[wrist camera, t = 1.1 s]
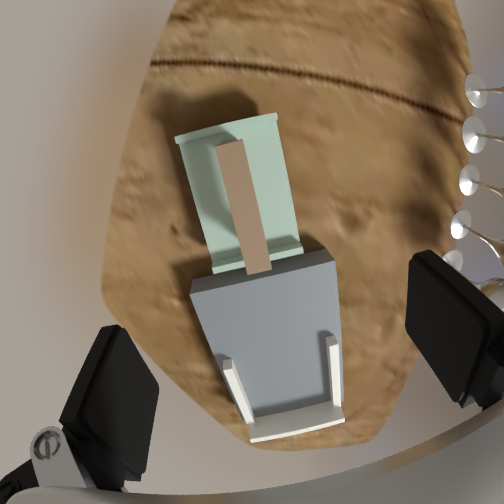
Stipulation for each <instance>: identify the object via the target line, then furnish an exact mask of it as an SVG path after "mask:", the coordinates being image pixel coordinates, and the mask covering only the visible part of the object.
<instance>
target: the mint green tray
mask: <svg viewBox="0 0 504 504" xmlns="http://www.w3.org/2000/svg"><path fill="white" fill-rule="evenodd" d="M276 120H278V117H277V113H271V114H266V115H261V116H256V117H251V118H246V119H242V120H237V121H233V122H228V123H224V124H220V125H216V126H212V127H208V128H204V129H201V130H197V131H193V132H190V133H186V134H183V135H179V136H176V137H174V138H175V142H176V144H179V146H180V150H181V154H182V158H183V161H184V165H185V169H186V172H187V176H188V180H189V183H190V187H191V191H192V194H193V198H194V201H195V205H196V208H197V212H198V215H199V219H200V222H201V226H202V229H203V232H204V236H205V239H206V242H207V246H208V249H209V252H210V256H211V259H212V270H213V274H216V273H220V272H224V271H229V270H233V269H238V268H242V267H246V271H247V275H250V274H255V273H259V272H263V271H268V270H272V266H271V262H270V261H272V260H276V259H281V258H285V257H289V256H293V255H298V254H302V253H304V252H303V246H302V245H301V243H300V240H299V234H298V229H297V223H296V218H295V212H294V207H293V201H292V196H291V191H290V186H289V181H288V175H287V170H286V166H285V161H284V156H283V151H282V146H281V142H280V137H279V132H278V128H277V123H276Z"/></svg>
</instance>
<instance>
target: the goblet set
mask: <svg viewBox="0 0 504 504" xmlns="http://www.w3.org/2000/svg"><path fill="white" fill-rule="evenodd" d="M464 86H465V92H466V95H467V98H468V99H469V101H470V102H471V104H472V105H473V106H475V107H478V108H481V107H483V106H484V105H485V104H486V101H487V92H495V93H501V94H504V87H501V88H492V89H486V86H485V83H484V81H483V80H482V79H481V77H479V76H478V75H477V74H475V73H470V74H468V75H467V76H466V78H465V83H464ZM462 137H463V141H464V144H465V146H466V148H467V149H468V150H469V151H470V152H472V153H479V152H480V151H482V149H483V148H484V146H485V143H486V138H488V139H492V140H496V141H500V142H503V143H504V137H501V136H500V137H499V136H491V135H486V130H485V126H484V124H483V122H482V121H481V120H480V119H479V118H478V117H477V116H473V115H472V116H469V117H467V118H466V120H465V121H464V124H463V127H462ZM478 185H481V186H484V187H486V188H488V189H491V190H493V191H494V192H496V193H498V194H499V195H500V196H502V197H503V198H504V188H498V187H493V186H490V185H487V184H484V183H481V182H479V172H478V170H477V168H476V167H475V166H474V165H472V164H467V165H466V166H464V167H463V169H462V170H461V172H460V176H459V186H460V189H461V191H462V193H463V194H465V195H472V194H473V193H474V192H475V191H476V190H477V188H478ZM470 226H471V215H470V213H469V212H468V211H467V210H464V209H462V210H460V211H458V212H457V213H456V214H455V215H454V217H453V219H452V221H451V227H450V229H451V234H452V236H453V237H454V238H456V239H461V238H463V237H464V236H465V235H466V234H467V233H468V231H471V232H473V233H474V234H476V235H477V236H479V237H480V238H482V239H483V240H484V241H486V242H487V243H488V244H489V245H490V246H491V247H492V249H493V250H494V252H495V253H496V255H497V257H498V259H499V261H500V262H501V264H502V265H503V267H504V239H501V240H499V239H492V238H489V237H487V236H484V235H482V234H480V233H479V232H477V231H475V230H473V229H471V228H470ZM442 259H443V260H444V261H446V262H447V263H448V264H449V265H451V266H452V267H453V268H454V269H455V270H457V271H458V272H459V273H460V274H461V275H463V274H462V273H461V272H460V270H461V268H462V264H463V256H462V253H461V252H460V251H459V250H456V249H454V250H451V251H449V252H447V253H446V254H445V255H444V256H443V257H442ZM463 276H464V277H465V278H466V279H467V280H469V281H470V282H471V283H472V284H473V285H474V286H475V287H477V288H478V289H479V290H480V291H481V292H482V293H483V294H485V295H486V296H487V297H488V298H489V299H490V300H491V301H492V302H493V303H494V304H496V305H497V306H498V307H499V308H500V309H501V310H502V311H503V312H504V278H501V277H493V278H489V279H487V280H485V281H483V282H475V281H472V280H471V279H469V278H467V277H466V276H465V275H463Z"/></svg>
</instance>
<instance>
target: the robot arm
mask: <svg viewBox="0 0 504 504" xmlns="http://www.w3.org/2000/svg"><path fill="white" fill-rule="evenodd" d="M405 328H406V331H407V333H408V335H409V336H410V338H411V339H412V341H413V342H414V343H415V345H416V346H417V348H418V349H419V351H420V352H421V354H422V355H423V356H424V358H425V359H426V361H427V362H428V364H429V365H430V367H431V368H432V370H433V371H434V373H435V374H436V376H437V377H438V379H439V380H440V382H441V383H442V385H443V386H444V388H445V390H446V391H447V393H448V394H449V396H450V397H451V399H452V400H453V401H454V402H458V403H459V405H460V406H461V408H464V407H466V406H468V405H470V404H471V403H473V402H475V401H476V402H477V404H478V406H479V408H478V414H477V415H475V416H474V417H472V418H470V419H468V420H467V421H465V422H463V423H461V424H459V425H458V426H455V427H454V428H452V429H450V430H448V431H446V432H444V433H442V434H440V435H438V436H436V437H434V438H432V439H429V440H428V441H425V442H423V443H421V444H419V445H416V446H414V447H412V448H409V449H407V450H404V451H402V452H400V453H397V454H395V455H392V456H389V457H387V458H384V459H382V460H378V461H376V462H373V463H370V464H367V465H364V466H361V467H358V468H354V469H351V470H348V471H344V472H341V473H337V474H334V475H330V476H326V477H322V478H318V479H314V480H309V481H305V482H300V483H295V484H290V485H285V486H279V487H273V488H266V489H260V490H252V491H243V492H233V493H220V494H205V495H204V494H202V495H158V494H140V493H129V492H128V491H127V489H126V488H125V486H124V481H125V480H127V481H141V475H142V473H144V472H145V471H146V466H147V459H148V452H149V446H150V440H151V434H152V428H153V422H154V417H155V411H156V406H157V401H158V395H159V385H158V383H157V381H156V379H155V378H154V376H153V375H152V373H151V371H150V370H149V368H148V366H147V365H146V363H145V362H144V360H143V358H142V357H141V355H140V354H139V352H138V350H137V348H136V346H135V345H134V343H133V341H132V339H131V338H130V336H129V334H128V332H127V331H126V329H125V328H121V327H120V326H119V325H117V324H116V325H111V326H105V327H102V328H101V329H100V331H99V333H98V335H97V337H96V339H95V341H94V343H93V345H92V347H91V349H90V351H89V353H88V355H87V358H86V360H85V362H84V364H83V366H82V368H81V370H80V372H79V375H78V377H77V379H76V381H75V384H74V386H73V388H72V390H71V393H70V395H69V397H68V400H67V402H66V405H65V407H64V409H63V412H62V414H61V417H60V419H59V422H60V423H61V424H62V425H63V428H62V430H61V429H59V428H58V427H54V426H51V427H46V428H44V429H42V430H41V431H40V432H38V433H37V434H36V436H35V437H34V438H33V440H32V442H31V446H30V455H31V459H30V460H28V461H27V462H25V463H24V464H22V465H21V466H19V467H18V468H17V469H15V470H14V471H12V472H11V473H9V474H8V475H6V476H5V477H4V478H3V479H2V480H1V481H0V504H504V312H503V311H502V310H501V309H500V308H499V307H498V306H497V305H496V304H494V303H493V302H492V301H491V300H490V299H489V298H488V297H487V296H486V295H485V294H483V293H482V292H481V291H480V290H479V289H478V288H477V287H475V286H474V285H473V284H472V283H471V282H470V281H469V280H467V279H466V278H465V277H464V276H463V275H461V274H460V273H459V272H458V271H457V270H455V269H454V268H453V267H452V266H451V265H449V264H448V263H447V262H446V261H444V260H443V259H442V258H441V257H439V256H438V255H437V254H435V253H434V252H433V251H432V250H425V251H422V252H418V253H415V254H414V255H413V257H412V259H411V260H410V261H409V271H408V293H407V308H406V319H405Z"/></svg>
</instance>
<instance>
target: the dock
mask: <svg viewBox="0 0 504 504" xmlns="http://www.w3.org/2000/svg"><path fill="white" fill-rule="evenodd" d="M270 262H271V266H272V270H268V271H263V272H259V273H255V274H250V275H247V271H246V267H244V268H240V269H235V270H231V271H227V272H222V273H218V274H213V275H209V276H205V277H200V278H196V279H193V280H192V285H191V289H190V297H191V300H192V302H193V305H194V308H195V310H196V313H197V315H198V318H199V321H200V323H201V326H202V328H203V331H204V333H205V336H206V338H207V341H208V343H209V345H210V348H211V350H212V353H213V355H214V357H215V360H216V362H217V365H218V367H219V369H220V372H221V374H222V376H223V378H224V381H225V383H226V385H227V388H228V390H229V392H230V394H231V397H232V399H233V401H234V403H235V405H236V407H237V410H238V412H239V414H240V416H241V418H242V420H243V422H244V423H247V425H248V427H249V437H250V441H251V443H253V442H259V441H265V440H270V439H276V438H281V437H286V436H291V435H295V434H300V433H304V432H308V431H312V430H316V429H320V428H324V427H328V426H331V425H335V424H339V423H342V422H345V417H344V414H343V412H342V409H341V402H342V401H344V399H343V361H342V340H341V323H340V309H339V297H338V285H337V275H336V265H335V260H334V258H333V257H332V256H331V254H330V253H329V252H328V250H327V249H326V248H325V249H321V250H317V251H312V252H308V253H304V254H300V255H295V256H291V257H287V258H283V259H278V260H274V261H270Z"/></svg>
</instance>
